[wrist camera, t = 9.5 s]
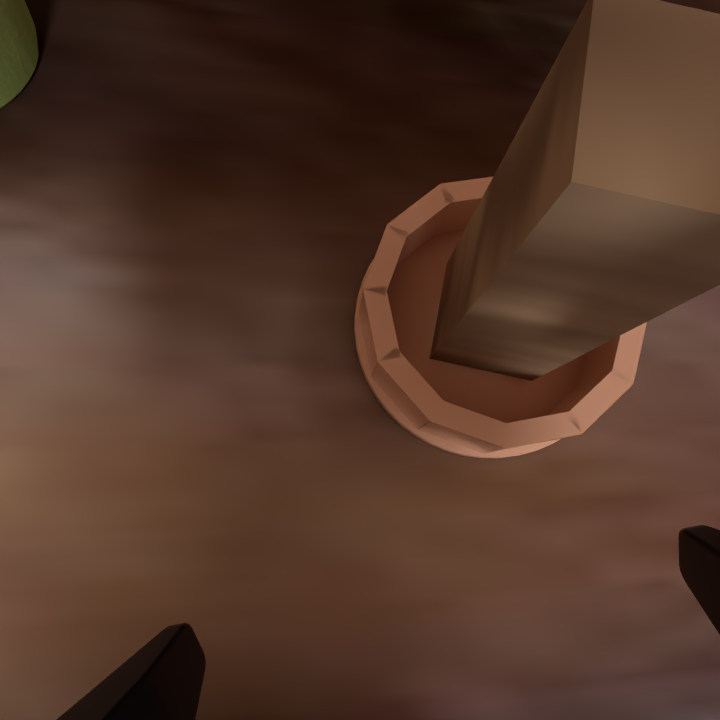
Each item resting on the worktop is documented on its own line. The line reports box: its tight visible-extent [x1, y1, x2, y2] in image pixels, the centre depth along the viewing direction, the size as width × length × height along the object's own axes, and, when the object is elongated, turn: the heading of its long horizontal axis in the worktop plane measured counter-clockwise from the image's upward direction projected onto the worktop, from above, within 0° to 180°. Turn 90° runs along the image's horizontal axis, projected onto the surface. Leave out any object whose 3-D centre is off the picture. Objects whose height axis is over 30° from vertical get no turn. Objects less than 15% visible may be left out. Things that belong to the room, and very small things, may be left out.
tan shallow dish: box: [354, 177, 647, 459], centre depth 20 cm, size 10×10×3 cm
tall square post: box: [430, 0, 720, 381], centre depth 15 cm, size 4×4×12 cm
